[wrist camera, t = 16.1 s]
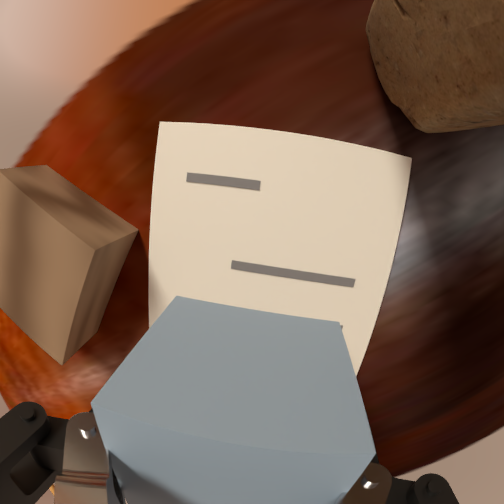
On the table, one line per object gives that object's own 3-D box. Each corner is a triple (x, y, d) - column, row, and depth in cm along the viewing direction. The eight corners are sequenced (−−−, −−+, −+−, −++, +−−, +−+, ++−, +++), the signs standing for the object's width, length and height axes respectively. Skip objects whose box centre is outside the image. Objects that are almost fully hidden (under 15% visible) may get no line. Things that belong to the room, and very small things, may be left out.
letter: (410, 158, 15) (412, 158, 14) (331, 430, 20) (331, 433, 20) (162, 122, 16) (159, 121, 15) (155, 401, 21) (153, 403, 21)
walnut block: (140, 229, 18) (95, 250, 13) (99, 330, 20) (62, 365, 15) (48, 164, 17) (-3, 169, 12) (22, 265, 20) (-20, 285, 15)
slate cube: (339, 321, 10) (376, 453, 5) (303, 430, 12) (303, 541, 6) (176, 295, 11) (90, 402, 5) (175, 408, 13) (130, 509, 7)
